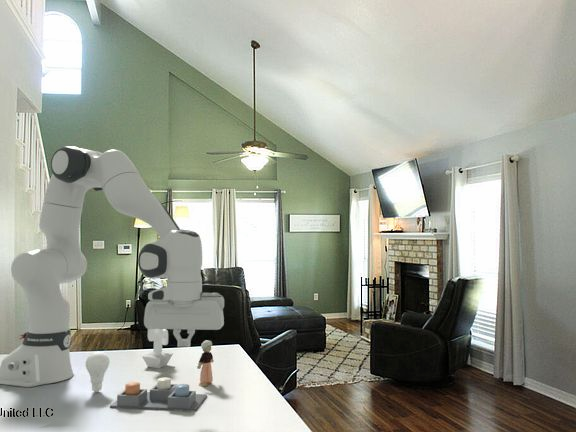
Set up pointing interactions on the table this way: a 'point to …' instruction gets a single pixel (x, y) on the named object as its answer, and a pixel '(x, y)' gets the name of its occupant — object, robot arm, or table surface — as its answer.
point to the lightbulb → (97, 369)
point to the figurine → (157, 349)
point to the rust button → (132, 388)
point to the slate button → (182, 390)
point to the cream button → (164, 383)
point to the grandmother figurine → (206, 364)
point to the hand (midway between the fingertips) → (183, 346)
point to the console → (159, 400)
